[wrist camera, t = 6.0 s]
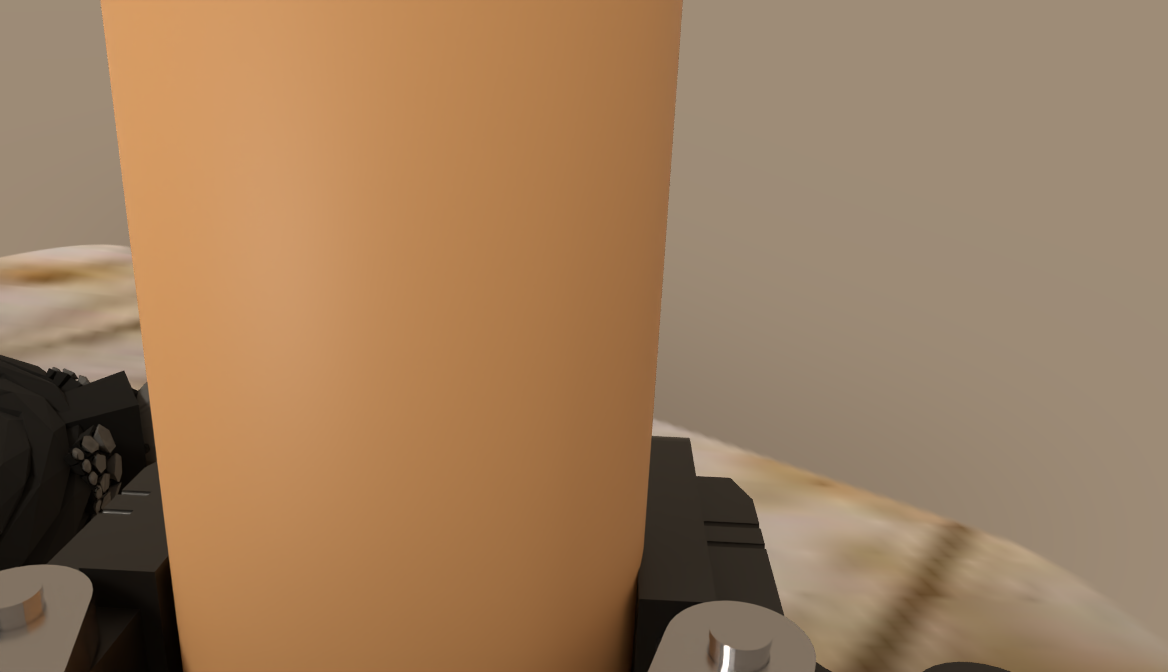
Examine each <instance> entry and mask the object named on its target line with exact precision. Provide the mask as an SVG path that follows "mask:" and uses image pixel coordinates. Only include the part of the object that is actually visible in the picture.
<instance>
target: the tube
mask: <svg viewBox="0 0 1168 672" xmlns="http://www.w3.org/2000/svg"><path fill="white" fill-rule="evenodd" d="M682 4H683V0H101V8H102V16H103V24H104V32H105V40H106V49H107V57H108V65H109V73H110V81H111V88H112V97H113V106H114V114H115V121H116V129H117V138H118V146H119V155H120V163H121V171H122V179H123V187H124V195H125V203H126V211H127V220H128V227H129V236H130V244H131V252H132V260H133V268H134V277H135V285H136V293H137V301H138V309H139V317H140V325H141V334H142V342H143V350H144V358H145V366H146V374H147V382H148V391H149V399H150V407H151V415H152V423H153V431H154V439H155V448H156V456H157V464H158V472H159V480H160V488H161V496H162V505H163V513H164V521H165V529H166V537H167V545H168V553H169V562H170V570H171V578H172V586H173V594H174V602H175V610H176V619H177V627H178V635H179V643H180V651H181V659H182V667H183V672H631V667H632V653H633V638H634V623H635V609H636V594H637V579H638V570H639V568H640V565H641V560H642V554H643V549H644V535H645V521H646V507H647V493H648V479H649V465H650V451H651V437H652V423H653V409H654V395H655V381H656V367H657V353H658V339H659V325H660V311H661V297H662V282H663V270H664V256H665V242H666V227H667V213H668V199H669V186H670V172H671V157H672V144H673V130H674V116H675V102H676V88H677V74H678V59H679V45H680V32H681V18H682Z"/></svg>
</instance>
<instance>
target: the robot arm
mask: <svg viewBox="0 0 1168 672" xmlns="http://www.w3.org/2000/svg"><path fill="white" fill-rule="evenodd" d="M0 672H183V667H182V659H181V651H180V643H179V635H178V627H177V619H176V610H175V602H174V594H173V586H172V578H171V570H170V562H169V553H168V545H167V537H166V529H165V521H164V513H163V505H162V496H161V488H160V480H159V472H158V464H157V462H155V463H153V464H151V465H149V466H147V467H145V468H144V469H143V470H142V471H141V472H140V473H139V474H138V475H137V476H136V477H135V478H134V479H133V480H132V481H131V482H130V483H129V484H128V485H127V486H126V487H125V488H123V489H122V494H121V495H116V496H115V497H114V498H113V499H112V500H111V501H110V502H109V503H108V504H107V505H106V506H105V507H104V508H103V513H102V514H100V513H98V514H97V515H96V516H95V517H94V518H93V519H92V520H91V521H90V522H89V523H88V524H87V525H86V526H85V527H84V528H83V529H82V530H81V531H80V532H79V533H78V534H77V535H76V536H75V537H74V538H73V539H72V540H71V541H70V542H69V543H68V544H67V545H66V546H64V547H63V548H62V549H61V550H60V551H59V552H58V553H57V554H56V555H55V556H54V557H53V558H52V559H51V560H50V561H49V562H48V563H47V564H46V565H29V566H22V567H15V568H11V569H6V570H2V571H0ZM631 672H831V671H829V670H828V669H826V668H824V667H823V666H821V665H820V664H818V663H817V662H816V654H815V650H814V647H813V645H812V643H811V641H810V639H809V638H808V636H807V635H806V634H805V633H804V631H803V630H802V629H800V628H799V627H798V626H797V625H796V624H795V623H794V622H792V621H791V620H789V619H788V618H786V617H785V616H784V613H783V610H782V606H781V602H780V599H779V595H778V591H777V588H776V584H775V580H774V576H773V573H772V569H771V565H770V562H769V558H768V554H767V551H766V549H765V543H764V540H763V536H762V532H761V529H759V521H758V518H757V514H756V510H755V507H754V503H753V499H752V498H750V497H749V496H748V495H747V494H746V493H745V492H744V491H743V490H742V489H741V488H740V487H739V486H738V485H737V484H736V483H735V482H734V481H733V480H732V479H731V478H722V477H702V476H696V473H695V467H694V461H693V455H692V449H691V443H690V439H689V438H680V437H661V436H652V437H651V451H650V465H649V479H648V493H647V507H646V521H645V535H644V549H643V554H642V560H641V565H640V568H639V570H638V579H637V594H636V609H635V623H634V638H633V653H632V667H631ZM923 672H1010V671H1007V670H1004V669H1001V668H998V667H994V666H990V665H986V664H979V663H972V662H952V663H944V664H940V665H935V666H933V667H931V668H928V669H926V670H925V671H923Z"/></svg>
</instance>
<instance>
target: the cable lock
mask: <svg viewBox="0 0 1168 672" xmlns="http://www.w3.org/2000/svg"><path fill="white" fill-rule="evenodd" d="M75 379H78V377H77V376H76V375H75V373H74V372H71V371H69V370H67V369H63V372H61V371H60V370H59V369H58V368H55V367H53V370H52V369H50V368H49V369H48V371H47V373H46V372H45V371H44V370H42V369H41V368H40V367H38V366H35V365H32V364H29V363H25V362H22V361H19V360H15V359H12V358H9V357H6V356H2V355H0V571H2V570H6V569H11V568H15V567H22V566H29V565H46V564H47V563H48V562H49V561H50V560H51V559H52V558H53V557H54V556H55V555H56V554H57V553H58V552H59V551H60V550H61V549H62V548H63V547H64V546H66V545H67V544H68V543H69V542H70V541H71V540H72V539H73V538H74V537H75V536H76V535H77V534H78V533H79V532H80V531H81V530H82V529H83V528H84V527H85V526H86V525H87V524H88V523H89V522H90V521H91V520H92V519H93V518H94V517H95V516H96V515H97V514H98V513H100V514H102V513H103V508H104V507H105V506H106V505H107V504H108V503H109V502H110V501H111V500H112V499H113V498H114V497H115V496H116V495H121V494H122V489H123V488H125V487H126V486H127V485H128V484H129V483H130V482H131V481H132V480H133V479H134V478H135V477H136V476H137V475H138V474H139V473H140V472H141V471H142V470H143V469H144V468H145V467H147V466H149V465H151V464H153V463H155V462H157V456H156V448H155V439H154V431H153V423H152V415H151V407H150V399H149V391H148V382H146V383H145V384H144V385H143V386H142V387H141V388H140V390H139V391H137V390H135V389H132V388H131V386H130V383H129V381H128V379H127V376H126V374H125V372H124V371H121V372H119V373H116V374H113V375H110V376H108V377H105V378H102V379H100V380H97V381H94V382H91V383H90V382H89V381H88V379H87V378H86V377H84V376H81V375H79V379H78V381H76V380H75Z"/></svg>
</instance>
